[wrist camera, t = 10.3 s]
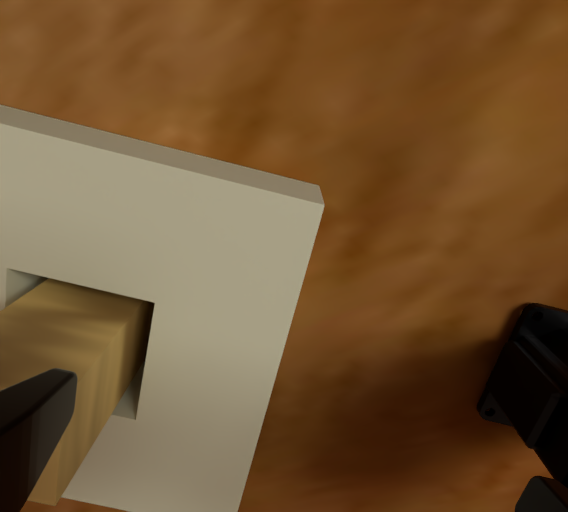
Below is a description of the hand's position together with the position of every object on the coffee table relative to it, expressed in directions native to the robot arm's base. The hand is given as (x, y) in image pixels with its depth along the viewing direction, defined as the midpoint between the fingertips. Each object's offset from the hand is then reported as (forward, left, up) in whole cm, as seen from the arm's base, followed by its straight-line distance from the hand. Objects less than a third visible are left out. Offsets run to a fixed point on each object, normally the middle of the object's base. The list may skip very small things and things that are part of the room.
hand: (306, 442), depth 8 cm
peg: (+8, +5, -12) cm, 15 cm away
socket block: (+8, +5, -12) cm, 15 cm away
